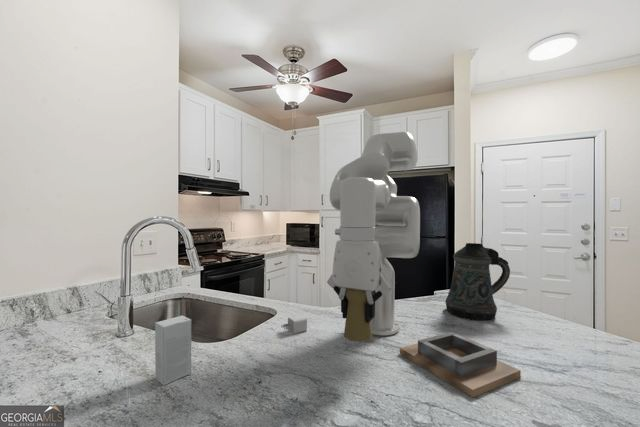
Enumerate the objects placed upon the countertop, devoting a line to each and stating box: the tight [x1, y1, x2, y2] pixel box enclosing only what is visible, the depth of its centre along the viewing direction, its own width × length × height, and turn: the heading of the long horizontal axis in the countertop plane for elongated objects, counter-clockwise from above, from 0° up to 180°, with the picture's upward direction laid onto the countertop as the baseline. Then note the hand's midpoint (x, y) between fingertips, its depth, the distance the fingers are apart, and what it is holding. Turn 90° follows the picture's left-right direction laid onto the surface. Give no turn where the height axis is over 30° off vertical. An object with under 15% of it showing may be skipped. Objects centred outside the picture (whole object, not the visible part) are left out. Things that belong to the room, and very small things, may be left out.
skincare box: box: [154, 315, 192, 386], centre depth 64 cm, size 6×4×12 cm
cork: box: [343, 288, 373, 343], centre depth 65 cm, size 6×6×11 cm
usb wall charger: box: [280, 314, 308, 335], centre depth 88 cm, size 4×7×4 cm, turn 122°
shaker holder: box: [399, 331, 522, 398], centre depth 70 cm, size 20×16×4 cm
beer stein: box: [445, 242, 511, 322], centre depth 107 cm, size 16×19×25 cm
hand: (357, 317), depth 65 cm, fingers closed on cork, 4 cm apart
